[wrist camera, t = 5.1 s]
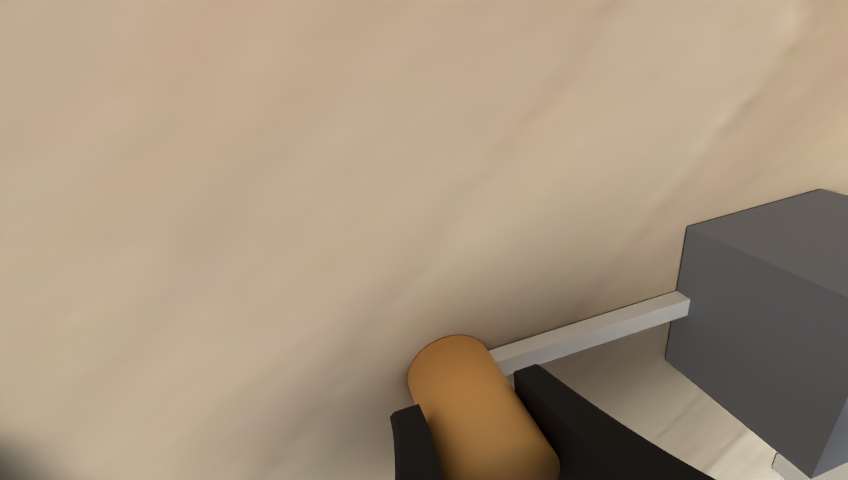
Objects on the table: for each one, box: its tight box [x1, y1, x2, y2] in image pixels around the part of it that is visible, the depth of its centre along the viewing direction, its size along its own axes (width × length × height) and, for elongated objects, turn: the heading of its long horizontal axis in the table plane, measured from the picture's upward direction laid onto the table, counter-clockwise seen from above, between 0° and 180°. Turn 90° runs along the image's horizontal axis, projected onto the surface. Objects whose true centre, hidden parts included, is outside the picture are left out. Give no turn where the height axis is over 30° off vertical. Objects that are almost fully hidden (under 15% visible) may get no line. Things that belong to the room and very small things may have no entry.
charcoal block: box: [408, 189, 848, 480], centre depth 11 cm, size 5×14×4 cm, turn 97°
